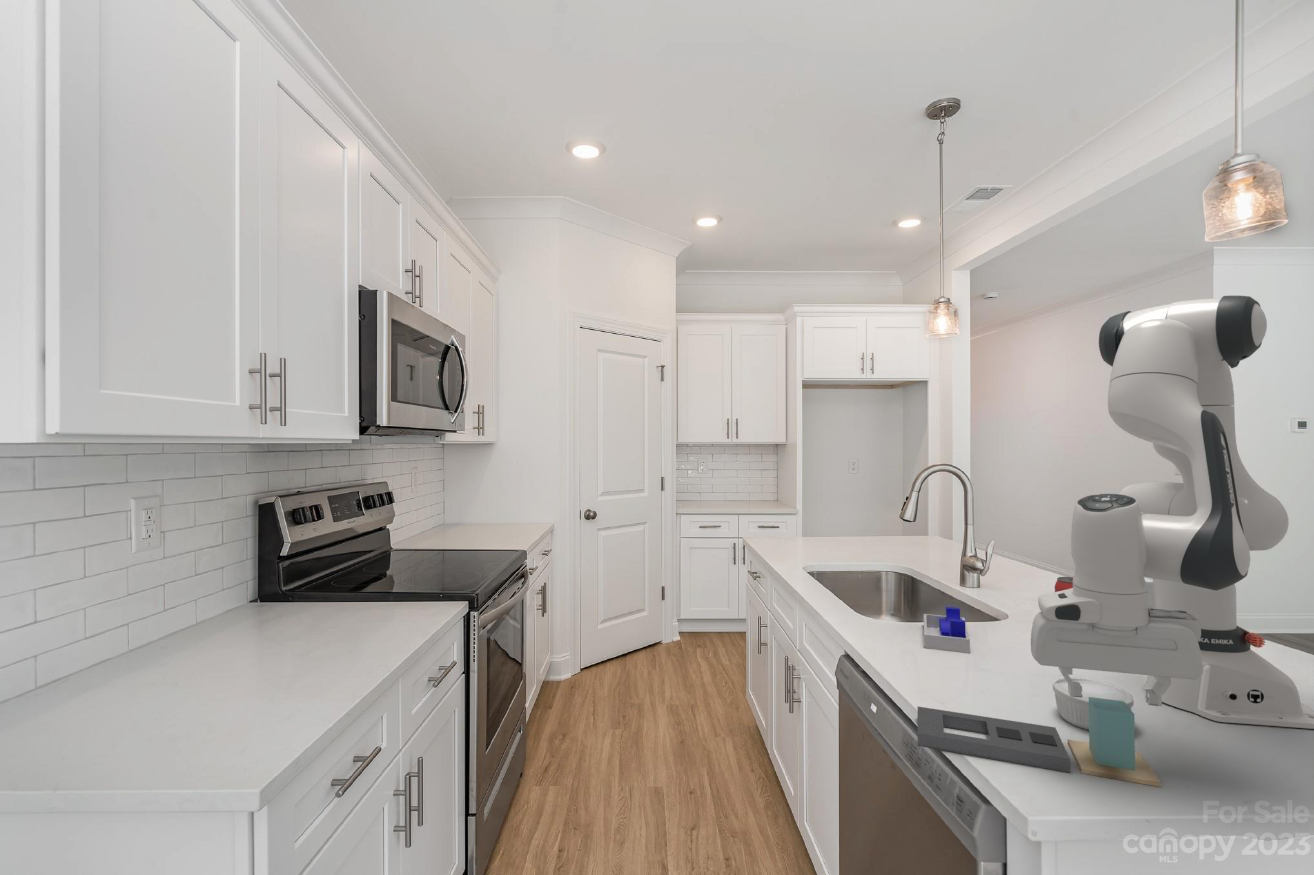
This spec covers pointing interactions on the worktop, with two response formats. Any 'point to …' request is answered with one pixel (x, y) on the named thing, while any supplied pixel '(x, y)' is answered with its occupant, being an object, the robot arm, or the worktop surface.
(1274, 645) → the worktop surface
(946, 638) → the clip tray
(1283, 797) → the worktop surface
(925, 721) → the grey slotted board
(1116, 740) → the upright teal block
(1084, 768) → the pad
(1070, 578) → the beer can
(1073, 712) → the ramekin
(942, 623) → the cable clip
